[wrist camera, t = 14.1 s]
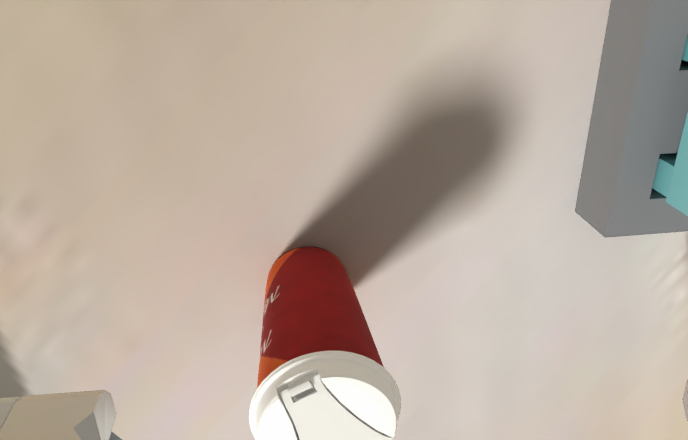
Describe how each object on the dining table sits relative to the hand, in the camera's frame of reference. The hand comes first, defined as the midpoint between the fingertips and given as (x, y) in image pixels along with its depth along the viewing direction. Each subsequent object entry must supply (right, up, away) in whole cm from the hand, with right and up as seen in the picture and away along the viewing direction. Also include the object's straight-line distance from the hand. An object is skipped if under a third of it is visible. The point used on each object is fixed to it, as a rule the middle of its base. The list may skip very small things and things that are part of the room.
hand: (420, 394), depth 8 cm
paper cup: (-4, -2, +33) cm, 33 cm away
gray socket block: (+19, +11, +30) cm, 37 cm away
